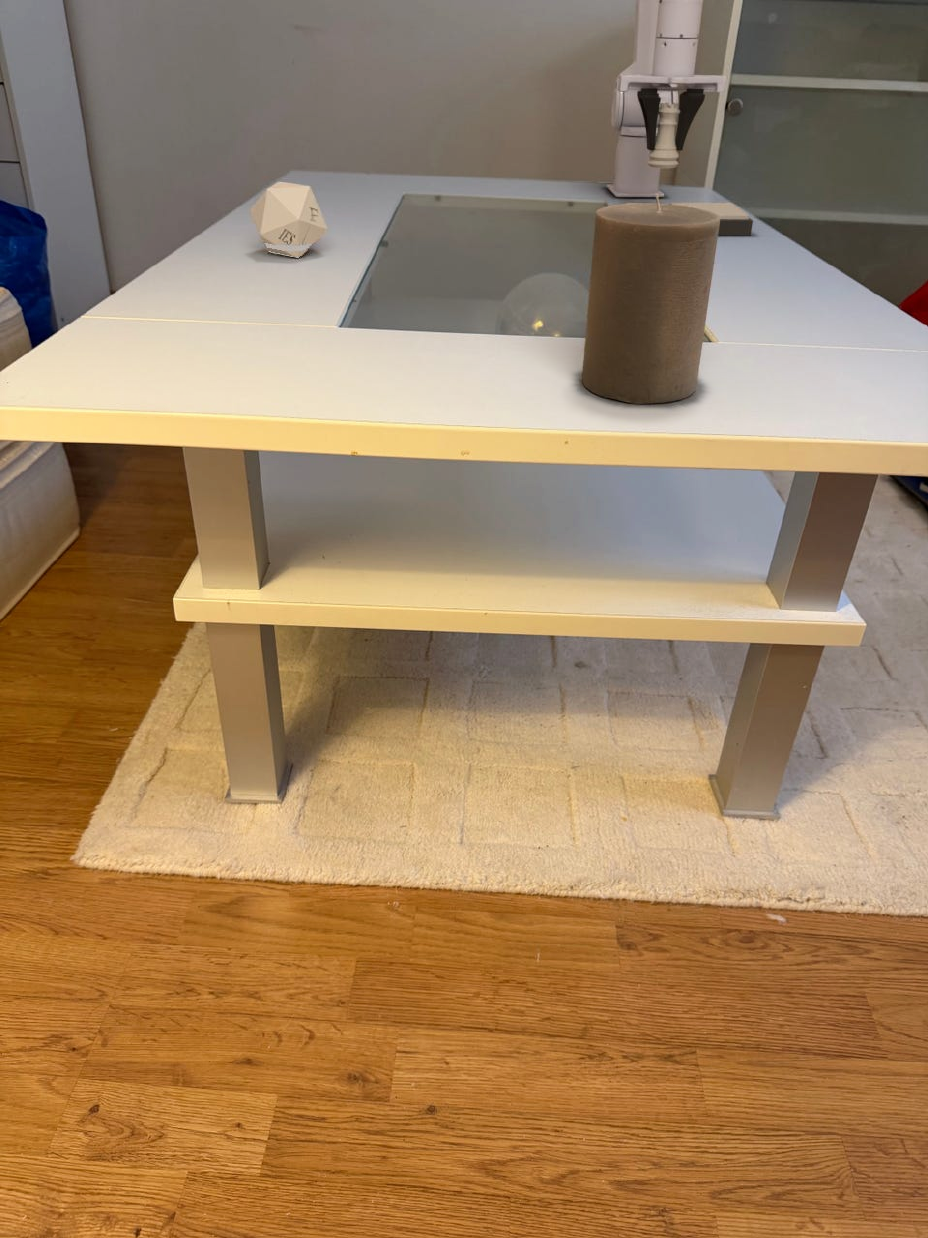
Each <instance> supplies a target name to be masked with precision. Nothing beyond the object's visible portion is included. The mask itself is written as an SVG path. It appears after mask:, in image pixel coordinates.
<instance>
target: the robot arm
mask: <svg viewBox="0 0 928 1238" xmlns="http://www.w3.org/2000/svg"><path fill="white" fill-rule="evenodd" d="M703 6H704V0H635V14H634V15H635V16H634V33H633V34H634V36H633V51H632V52H633V53H632V54H633V55H632V63H631V64H630V65H629V66H628V67H626V68H625V69H624V70H623V71H621V72H620V73H619V74H618V76H617V77H616V80H615V81H614V85H613V93H612V95H613V96H612V100H611V111H610V112H611V113H610V122H611V123H610V124H611V127H612V128H613V130H614V131H615V132H617V134H618V140H617V141H618V142H617V145H616V147H615V157H614V168H613V179H612V184H609V183H608V184H606V188H607V189H608V190H609V191H610V192H611V193H612V194H613V195H614V197H616V198H656V195H658V197H659V198H665V193H664V192H663V191H661V190H660V189H659V187H660V178H661V177H660V176H661V169H662V168H653V167H650V166H649V165H648V163H647V162H648V161H649V160H650V157H649V153H650V151H651V150H654V149H655V142H656V137H657V133H658V126H659V125H658V124H657V123H658V122H659V119H660V116H659V114H658V112H659V108H660V104H661V103H664V104H665V103H669V104H668V106H671V103H675V104H676V103H678V104H679V106H678V108H679V110H680V111H681V112H680V113H679V115H678V116H677V117H678V119H677V125H676V131H675V145H676V147H677V148H676V150H677V151H680V152H681V151H683V149H684V146H685V142H686V139H687V137H688V133H689V130H690V128H691V126H692V123H693V121H694V119H695V117H696V115H697V114H698V111H699V110H700V108H701V107H702V105H703V103H704V101H705V98H706V94H705V93H708V92H710V93H725V90H726V83H727V76H726V75H718V74H717V75H716V74H715V75H712V74H711V75H709V74H695V69H696V61H697V53H698V47H699V46H698V45H699V38H700V28H701V20H702V13H703ZM678 85H683V86H678ZM679 92H682V93H680V94H679ZM704 92H705V93H704Z"/></svg>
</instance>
